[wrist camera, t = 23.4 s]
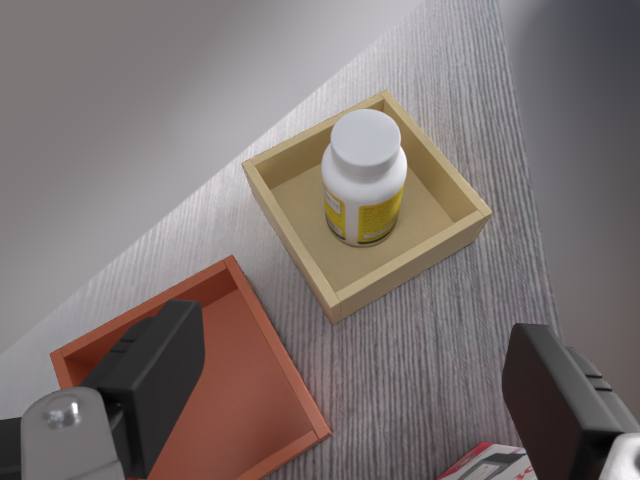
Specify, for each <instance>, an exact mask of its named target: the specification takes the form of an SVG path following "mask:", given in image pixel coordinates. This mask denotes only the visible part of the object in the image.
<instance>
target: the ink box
mask: <svg viewBox="0 0 640 480" xmlns="http://www.w3.org/2000/svg"><path fill="white" fill-rule="evenodd" d="M436 480H538V479H537V477H536V475H535V472H534V470H533V467H532V465H531V463H530V460H529V458H528V456H527V453H526V451H525V449H524V448H518V447H511V446H504V445H498V444H491V443H485V442H480V443H479V444H478V445H477V446H476V447H475V448H473V449H472V450H471V451H469V452H468V453H467V454H466V455H464V456H463V457H462V458H461V459H460V460H459V461H458V462H456V463H455V464H454V465H453V466H451V467H450V468H449V469H448V470H447V471H446V472H444V473H443V474H442V475H441V476H439V477H438V478H437V479H436Z"/></svg>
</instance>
